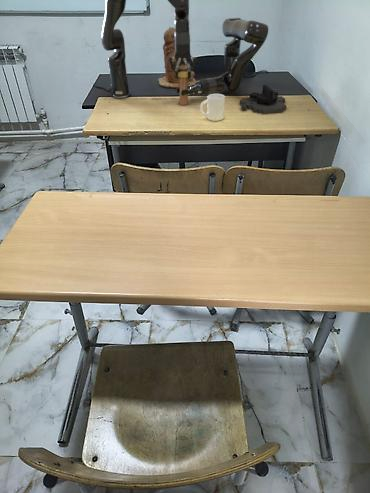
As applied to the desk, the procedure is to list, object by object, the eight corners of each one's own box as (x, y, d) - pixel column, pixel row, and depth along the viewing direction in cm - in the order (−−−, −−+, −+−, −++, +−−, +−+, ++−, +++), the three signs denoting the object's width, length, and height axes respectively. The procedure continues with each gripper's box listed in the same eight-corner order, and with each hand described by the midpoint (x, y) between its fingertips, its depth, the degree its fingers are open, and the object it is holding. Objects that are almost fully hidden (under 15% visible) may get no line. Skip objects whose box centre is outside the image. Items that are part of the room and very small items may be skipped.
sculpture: (197, 88, 213) (196, 30, 194) (156, 89, 214) (152, 31, 194) (196, 75, 234) (196, 22, 215) (159, 76, 235) (156, 23, 215)
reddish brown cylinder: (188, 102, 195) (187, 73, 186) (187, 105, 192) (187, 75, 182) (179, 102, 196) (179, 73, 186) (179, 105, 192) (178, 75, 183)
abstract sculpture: (248, 96, 172) (237, 84, 187) (247, 115, 178) (235, 102, 193) (298, 91, 175) (282, 80, 190) (294, 110, 181) (280, 98, 196)
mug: (201, 122, 172) (201, 100, 166) (198, 116, 178) (198, 94, 172) (225, 120, 173) (226, 98, 167) (221, 114, 180) (222, 93, 173)
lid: (176, 75, 186) (176, 72, 185) (186, 74, 187) (186, 70, 186) (179, 78, 182) (179, 74, 181) (189, 76, 183) (189, 73, 182)
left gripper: (166, 43, 173) (168, 80, 184) (195, 43, 171) (195, 81, 182) (169, 40, 179) (171, 76, 189) (198, 40, 176) (198, 77, 187)
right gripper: (199, 75, 197) (172, 81, 191) (213, 82, 187) (185, 87, 181) (199, 90, 202) (172, 95, 196) (213, 97, 192) (185, 103, 186)
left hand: (183, 78), depth 186 cm, fingers closed on lid, 5 cm apart
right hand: (179, 91), depth 188 cm, fingers closed on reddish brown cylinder, 4 cm apart
